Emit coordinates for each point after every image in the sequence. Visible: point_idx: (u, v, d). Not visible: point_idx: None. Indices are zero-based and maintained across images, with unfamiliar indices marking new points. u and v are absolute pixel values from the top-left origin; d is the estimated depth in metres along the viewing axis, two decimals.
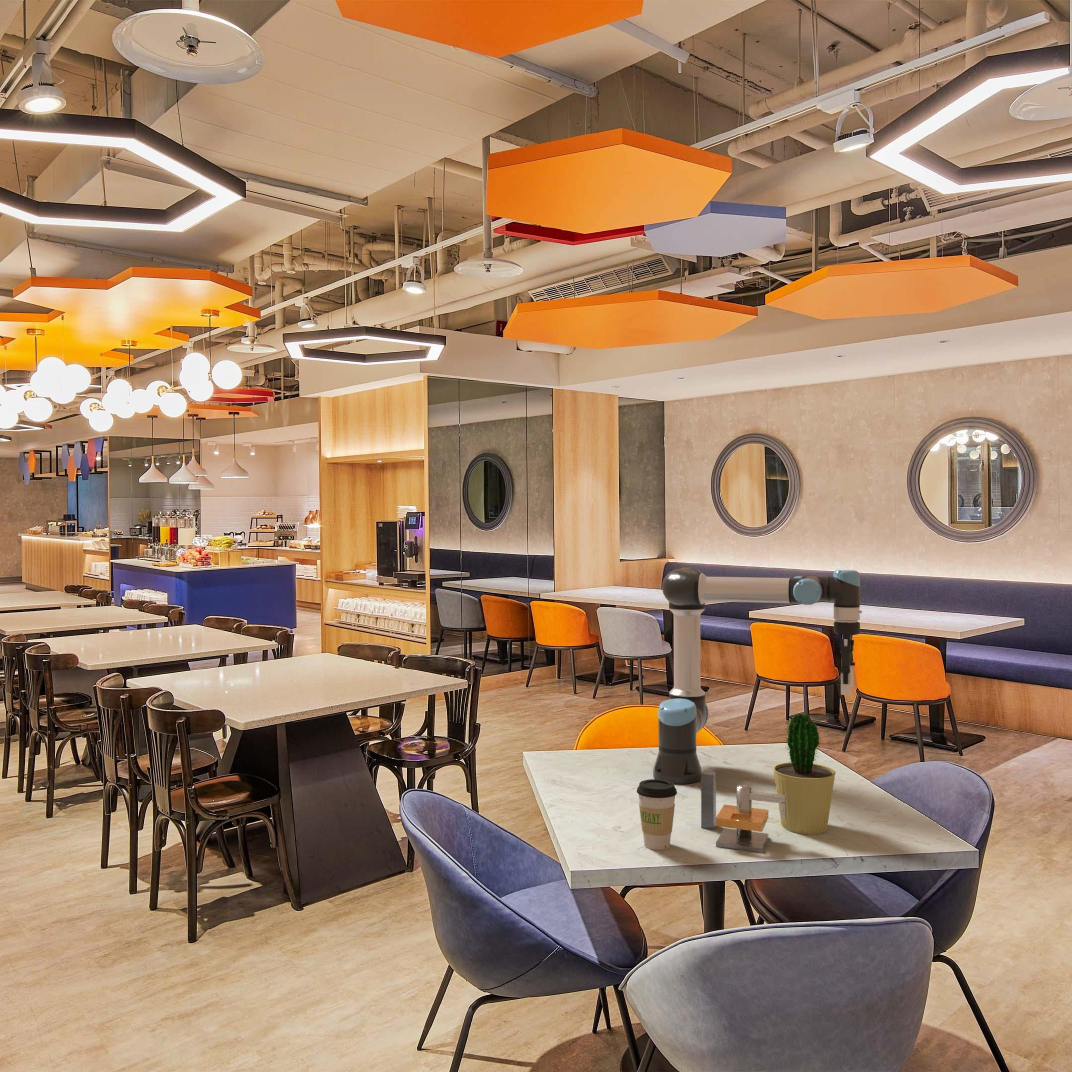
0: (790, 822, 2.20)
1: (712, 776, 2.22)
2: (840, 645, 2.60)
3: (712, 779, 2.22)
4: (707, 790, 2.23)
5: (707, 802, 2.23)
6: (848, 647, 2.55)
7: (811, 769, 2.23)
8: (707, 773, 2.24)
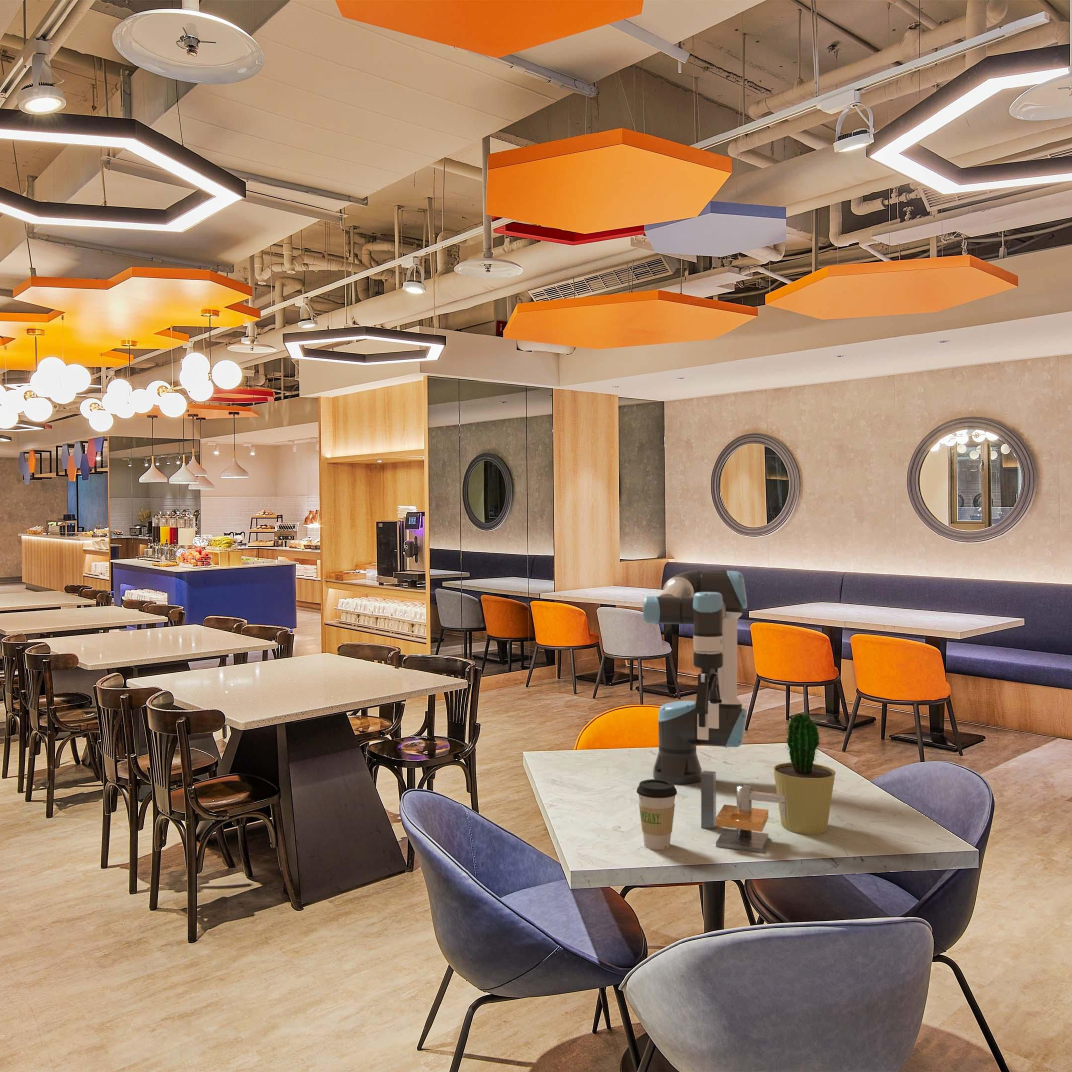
0: (790, 822, 2.20)
1: (712, 776, 2.22)
2: None
3: (712, 779, 2.22)
4: (707, 790, 2.23)
5: (707, 802, 2.23)
6: (705, 683, 2.17)
7: (811, 769, 2.23)
8: (707, 773, 2.24)
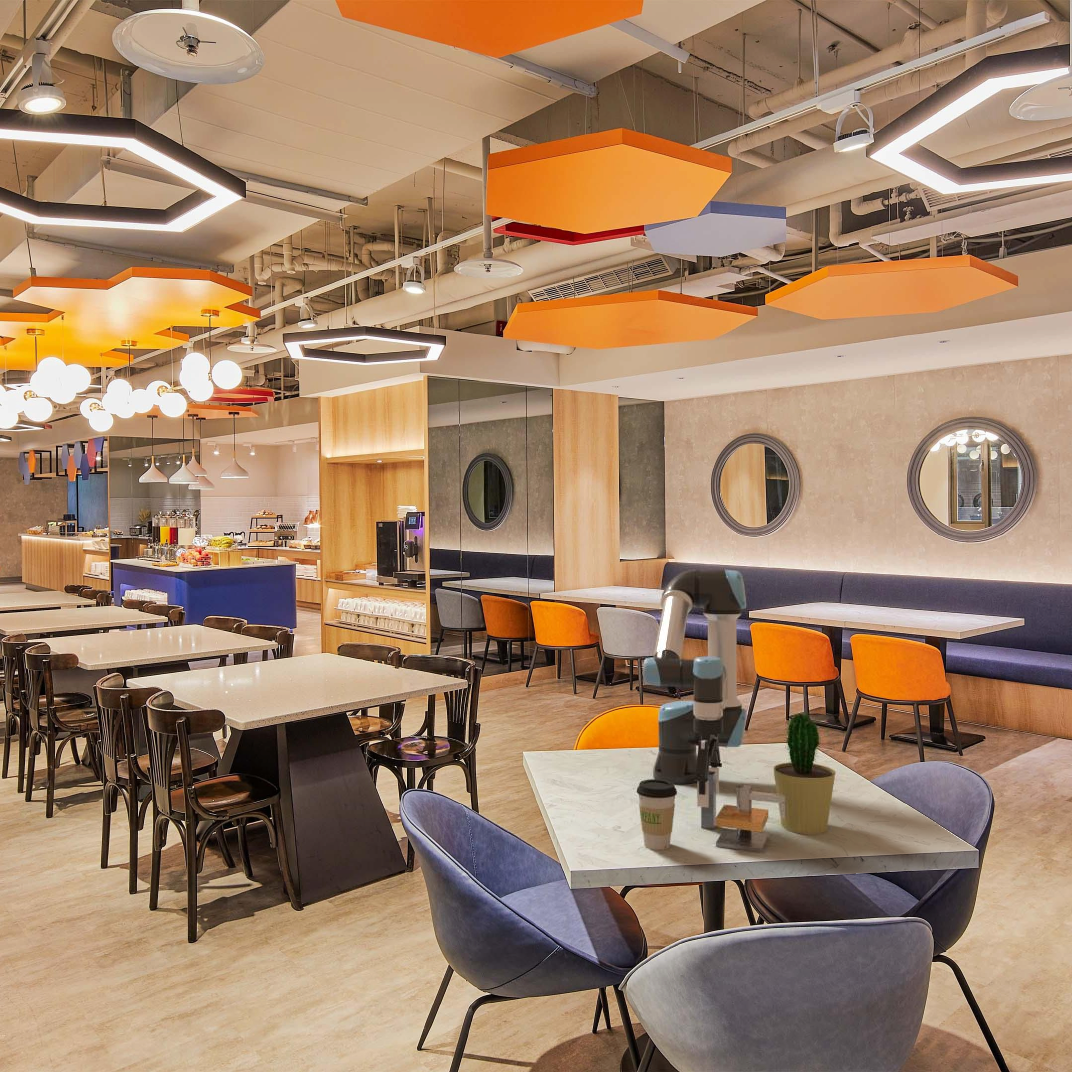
0: (790, 822, 2.20)
1: (712, 776, 2.22)
2: None
3: (712, 779, 2.22)
4: None
5: None
6: (705, 751, 2.17)
7: (811, 769, 2.23)
8: None
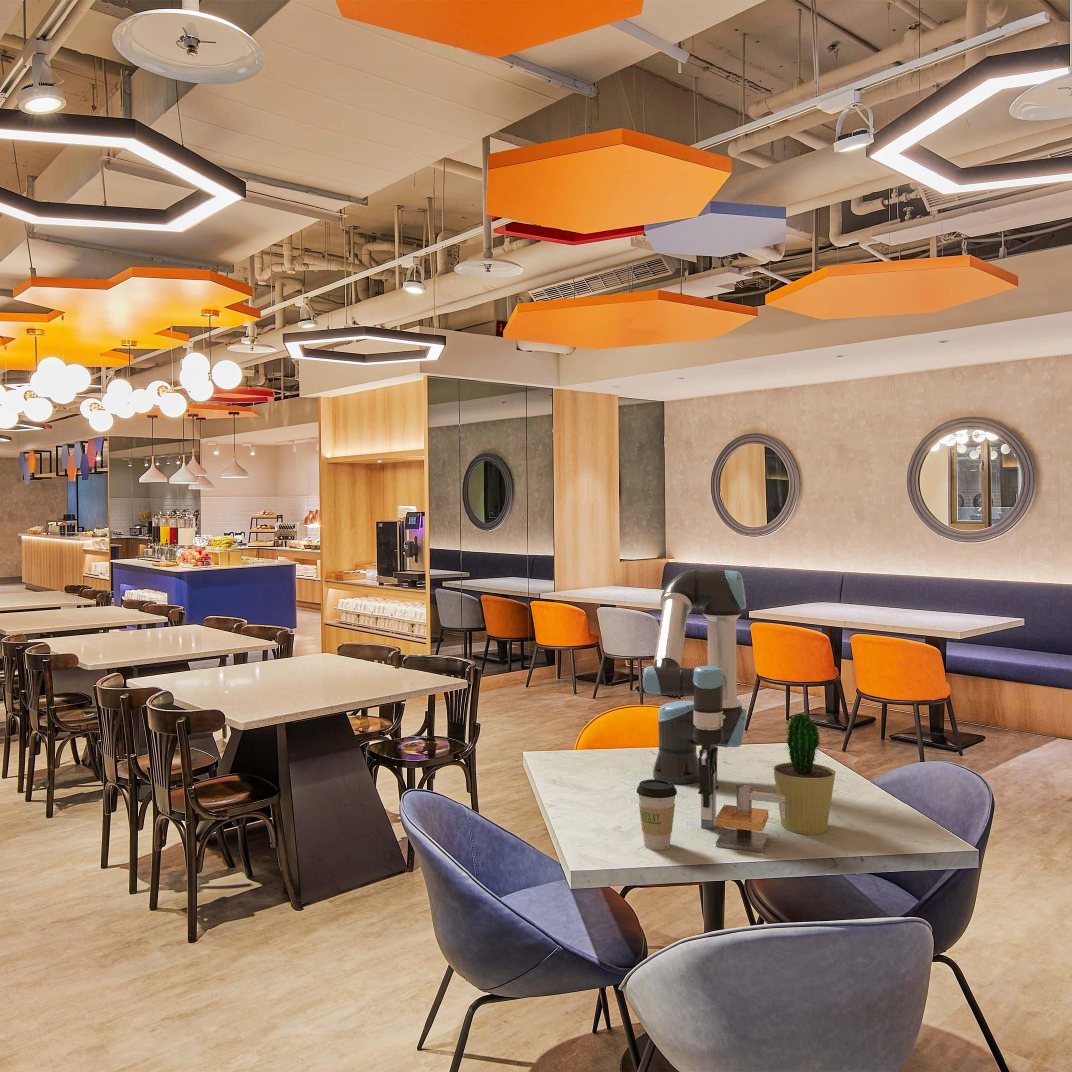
0: (790, 822, 2.20)
1: (712, 776, 2.22)
2: None
3: (712, 779, 2.22)
4: None
5: None
6: (706, 767, 2.19)
7: (811, 769, 2.23)
8: None
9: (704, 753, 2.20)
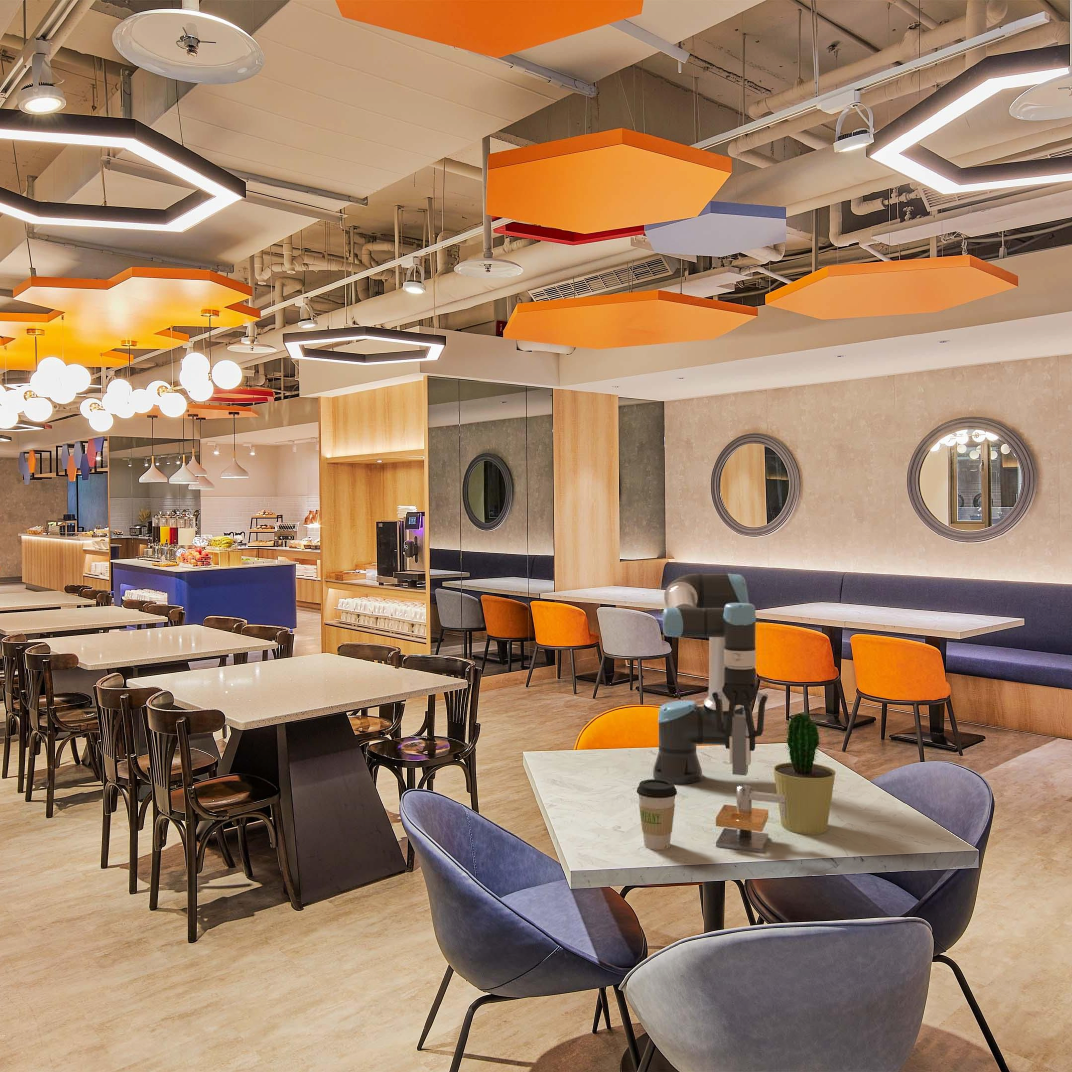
0: (790, 822, 2.20)
1: None
2: None
3: None
4: None
5: None
6: None
7: (811, 769, 2.23)
8: (737, 715, 2.11)
9: (721, 689, 2.12)
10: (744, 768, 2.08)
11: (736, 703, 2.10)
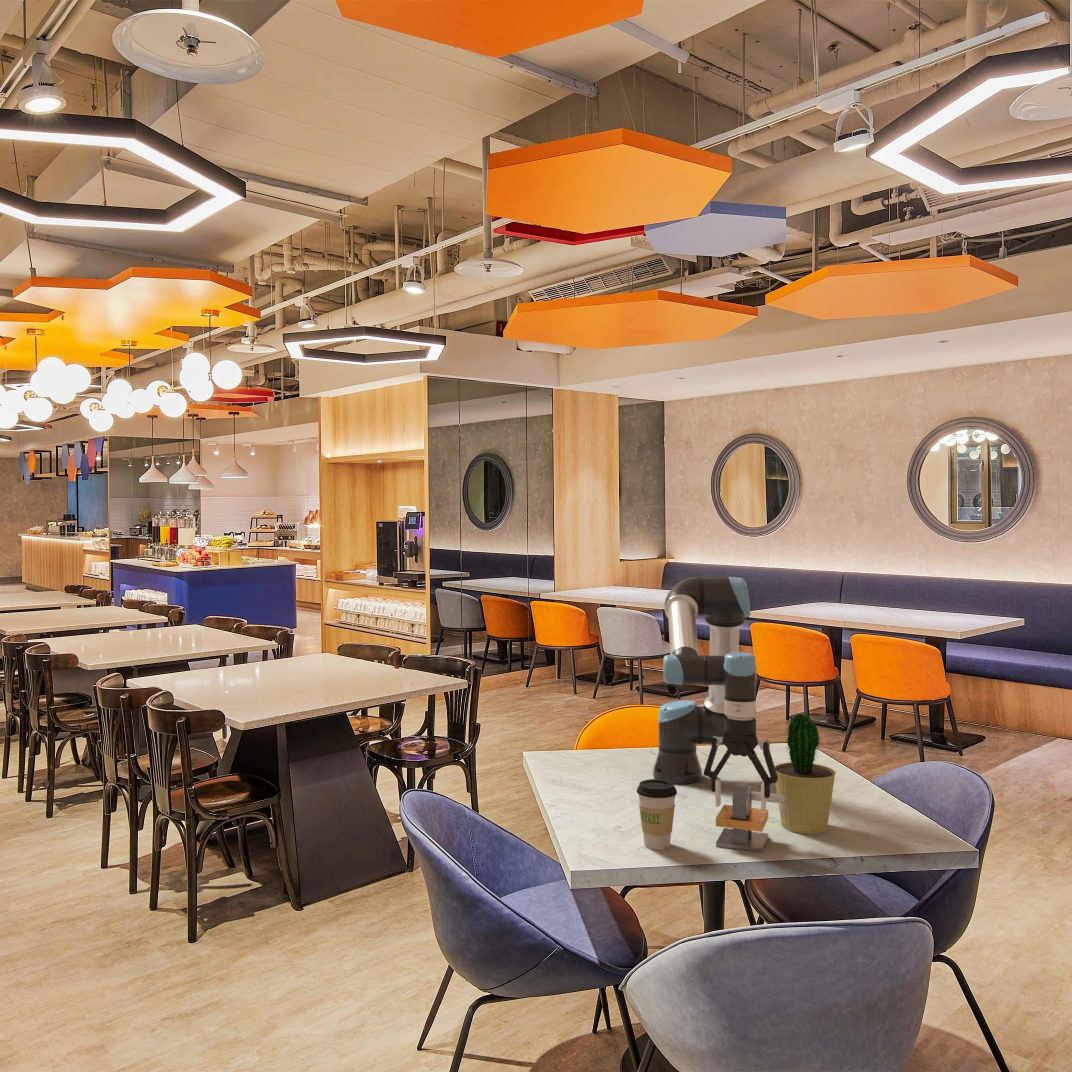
0: (790, 822, 2.20)
1: None
2: None
3: None
4: None
5: None
6: (711, 747, 2.12)
7: (811, 769, 2.23)
8: (737, 784, 2.11)
9: (722, 737, 2.12)
10: (744, 837, 2.09)
11: (733, 753, 2.10)
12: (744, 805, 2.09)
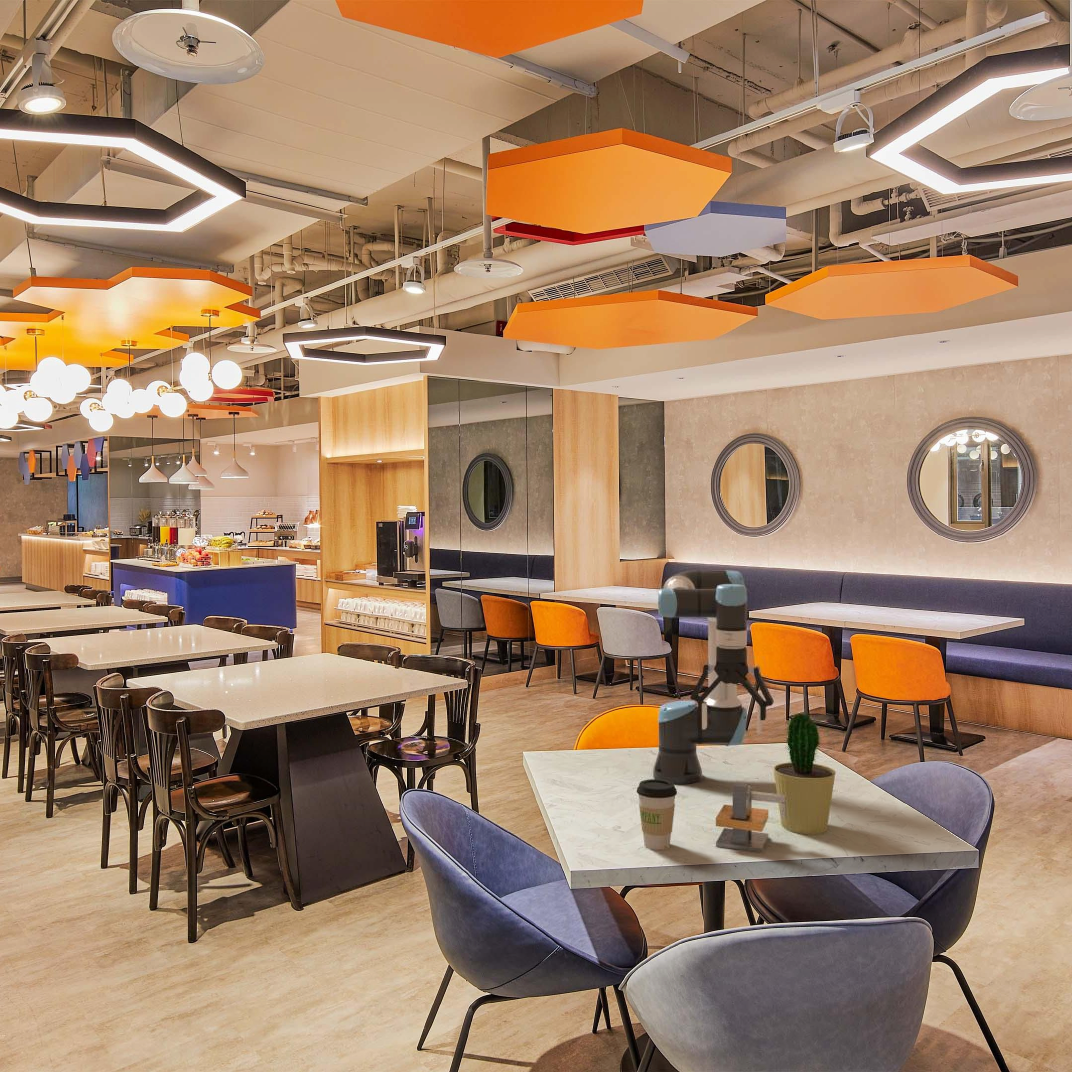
0: (790, 822, 2.20)
1: None
2: None
3: None
4: None
5: None
6: (702, 673, 2.18)
7: (811, 769, 2.23)
8: (737, 784, 2.11)
9: (714, 665, 2.18)
10: (744, 837, 2.09)
11: (722, 681, 2.16)
12: (744, 805, 2.09)
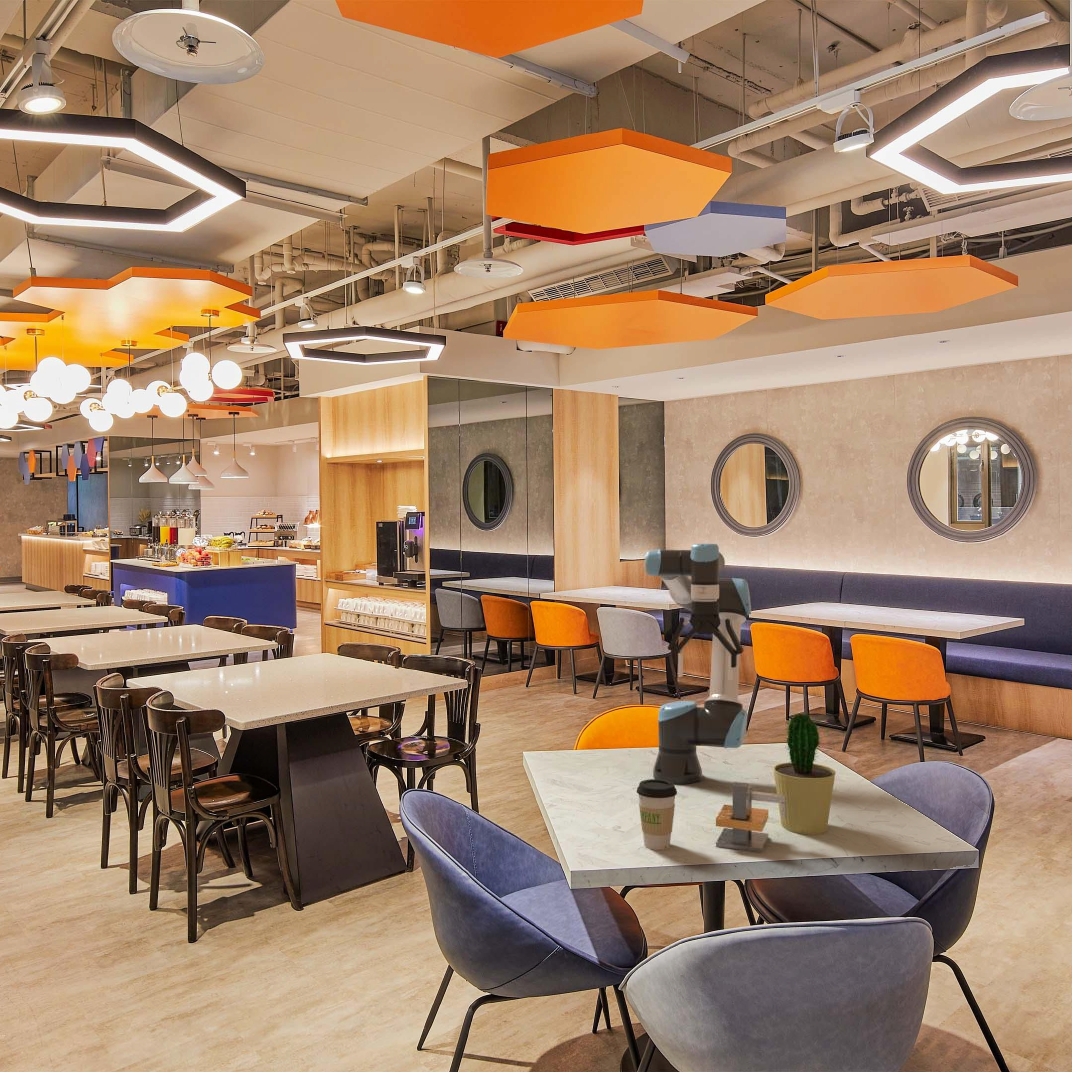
0: (790, 822, 2.20)
1: None
2: None
3: None
4: None
5: None
6: None
7: (811, 769, 2.23)
8: (737, 784, 2.11)
9: (689, 618, 2.37)
10: (744, 837, 2.09)
11: (697, 632, 2.35)
12: (744, 805, 2.09)
